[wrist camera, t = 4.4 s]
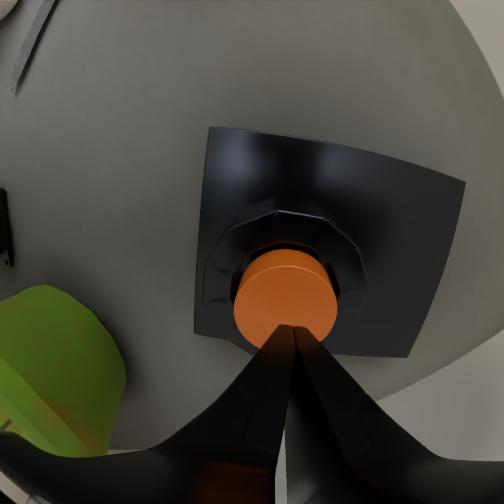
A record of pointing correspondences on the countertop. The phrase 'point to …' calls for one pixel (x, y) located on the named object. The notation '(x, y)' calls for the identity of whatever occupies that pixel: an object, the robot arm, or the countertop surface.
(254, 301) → the button
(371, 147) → the countertop surface
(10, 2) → the egg
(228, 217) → the black button base
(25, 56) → the knife
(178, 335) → the countertop surface
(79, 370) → the apple
